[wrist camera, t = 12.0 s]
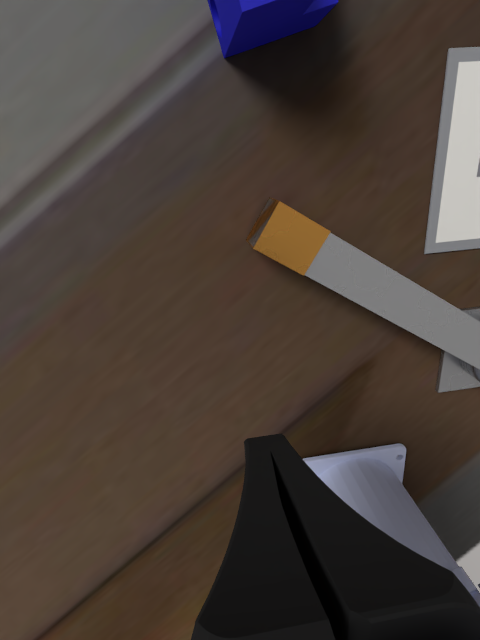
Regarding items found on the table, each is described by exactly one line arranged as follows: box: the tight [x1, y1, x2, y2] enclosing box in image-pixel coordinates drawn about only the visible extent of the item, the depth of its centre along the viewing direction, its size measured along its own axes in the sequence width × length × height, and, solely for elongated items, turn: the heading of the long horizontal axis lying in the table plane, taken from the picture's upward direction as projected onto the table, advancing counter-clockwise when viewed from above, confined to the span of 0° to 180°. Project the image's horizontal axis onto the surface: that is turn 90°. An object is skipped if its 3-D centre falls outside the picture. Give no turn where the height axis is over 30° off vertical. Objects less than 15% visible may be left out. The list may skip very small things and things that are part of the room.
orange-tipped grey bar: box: [246, 197, 480, 382], centre depth 22 cm, size 20×4×2 cm, turn 61°
